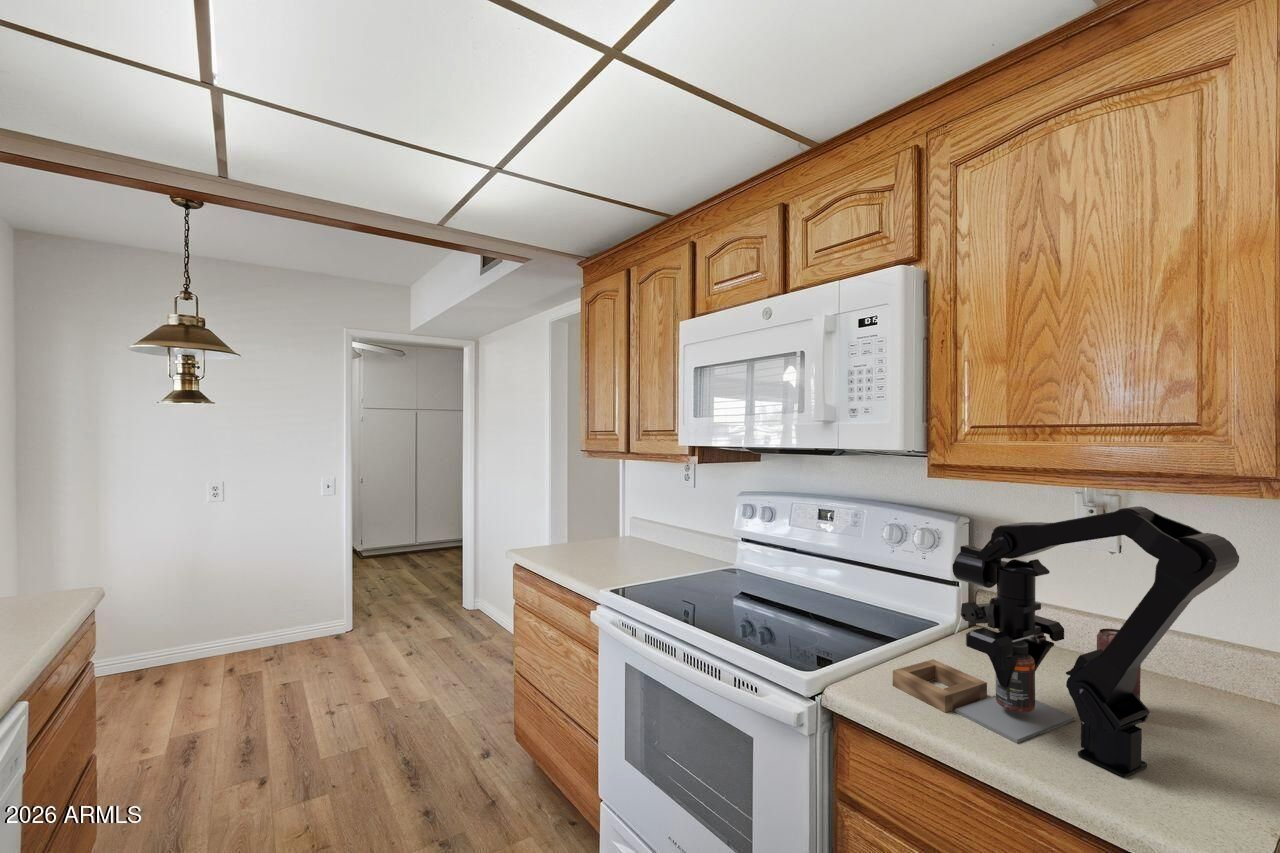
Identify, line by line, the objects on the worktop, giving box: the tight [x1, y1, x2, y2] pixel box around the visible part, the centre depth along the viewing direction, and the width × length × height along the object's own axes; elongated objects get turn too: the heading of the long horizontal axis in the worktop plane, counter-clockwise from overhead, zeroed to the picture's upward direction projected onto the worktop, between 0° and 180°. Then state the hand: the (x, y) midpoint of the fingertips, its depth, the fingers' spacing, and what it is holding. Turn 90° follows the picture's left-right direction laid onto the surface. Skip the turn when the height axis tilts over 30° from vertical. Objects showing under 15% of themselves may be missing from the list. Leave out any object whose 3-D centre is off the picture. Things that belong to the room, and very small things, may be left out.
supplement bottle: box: [994, 640, 1036, 712], centre depth 105 cm, size 6×6×11 cm
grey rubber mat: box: [954, 694, 1076, 744], centre depth 105 cm, size 11×16×1 cm
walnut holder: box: [892, 658, 988, 713], centre depth 114 cm, size 12×12×3 cm
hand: (1015, 683), depth 105 cm, fingers closed on supplement bottle, 6 cm apart
